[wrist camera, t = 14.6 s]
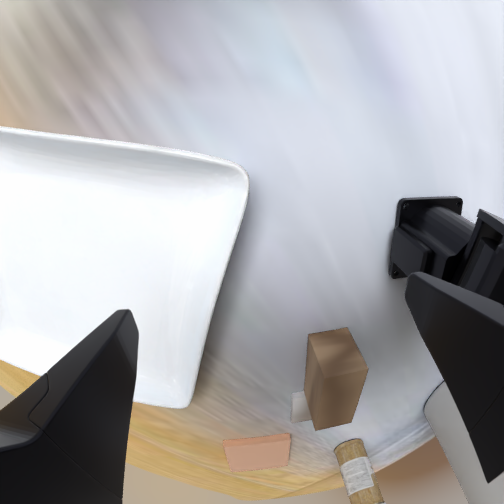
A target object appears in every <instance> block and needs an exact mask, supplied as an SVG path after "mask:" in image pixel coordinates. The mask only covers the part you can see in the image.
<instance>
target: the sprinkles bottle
mask: <svg viewBox="0 0 504 504" xmlns="http://www.w3.org/2000/svg"><path fill="white" fill-rule="evenodd" d="M334 453H335V454H336V456H337V459H338V462H339V466H340V471H341V474H342V478H343V481H344V484H345V487H346V490H347V494H348V497H349V499H350V502H351V504H386V503H384V500H383V497H382V495H381V492H380V489H379V486H378V483H377V480H376V476H375V474H374V471H373V468H372V465H371V463H370V460H369V458H368V456H367V453H366V451H365V448H364V445H363V441H362V440H361V439H354V440H350V441H347V442H344V443H342V444H340V445H339V446H337V447H336V448H335V450H334Z"/></svg>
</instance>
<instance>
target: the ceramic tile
mask: <svg viewBox="0 0 504 504" xmlns="http://www.w3.org/2000/svg"><path fill="white" fill-rule="evenodd" d="M290 442H291V438H290V434H289V433H285V434H278V435H271V436H263V437H254V438H244V439H233V440H223V447H224V450H225V454H226V457H227V460H228V464H229V467H230V470H231V472H240V471H251V470H260V469H268V468H276V467H283V466H287V465H288V458H289V450H290Z"/></svg>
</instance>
